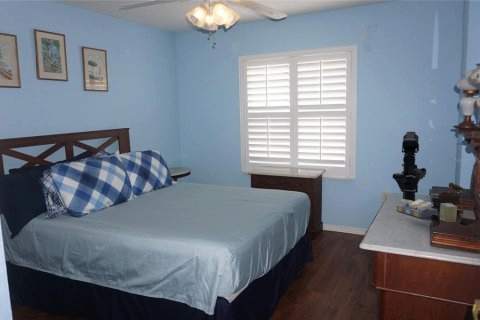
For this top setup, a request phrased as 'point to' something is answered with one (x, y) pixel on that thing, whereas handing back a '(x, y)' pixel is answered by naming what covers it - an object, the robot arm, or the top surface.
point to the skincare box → (448, 212)
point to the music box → (452, 198)
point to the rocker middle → (416, 203)
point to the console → (416, 211)
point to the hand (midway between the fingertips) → (408, 190)
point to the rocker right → (424, 206)
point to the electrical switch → (436, 201)
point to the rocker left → (407, 201)
